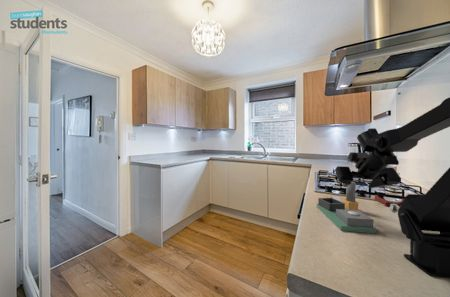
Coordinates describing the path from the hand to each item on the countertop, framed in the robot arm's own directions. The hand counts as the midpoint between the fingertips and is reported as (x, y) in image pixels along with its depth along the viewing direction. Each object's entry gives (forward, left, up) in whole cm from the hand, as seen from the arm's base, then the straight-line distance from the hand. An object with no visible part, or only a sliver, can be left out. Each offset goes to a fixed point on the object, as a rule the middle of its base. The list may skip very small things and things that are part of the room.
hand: (356, 186), depth 67 cm
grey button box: (-11, +7, -9) cm, 16 cm away
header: (+1, +9, -9) cm, 13 cm away
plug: (+4, 0, -11) cm, 12 cm away
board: (-5, +8, -11) cm, 14 cm away
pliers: (+14, -21, -12) cm, 28 cm away
